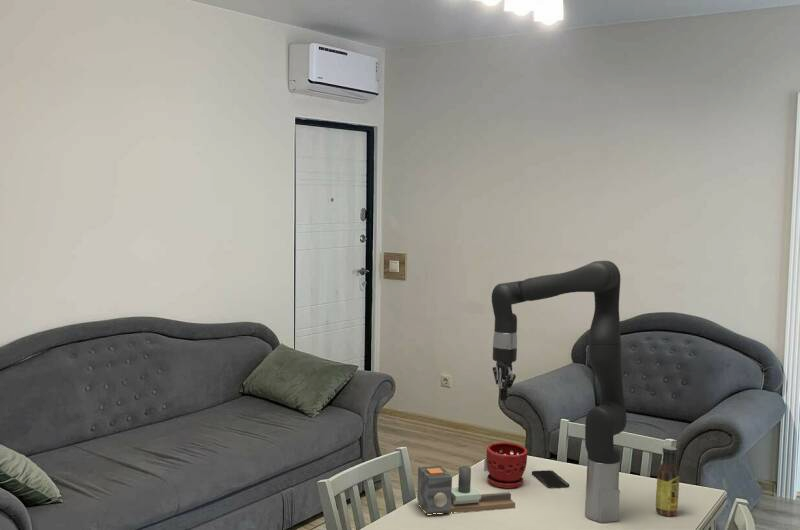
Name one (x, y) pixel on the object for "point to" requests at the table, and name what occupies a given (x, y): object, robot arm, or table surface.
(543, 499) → the table surface
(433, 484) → the rail
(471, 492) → the mint plate with knob
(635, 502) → the table surface
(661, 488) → the sauce bottle
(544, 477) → the phone
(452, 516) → the table surface
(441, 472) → the button
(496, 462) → the plant pot
